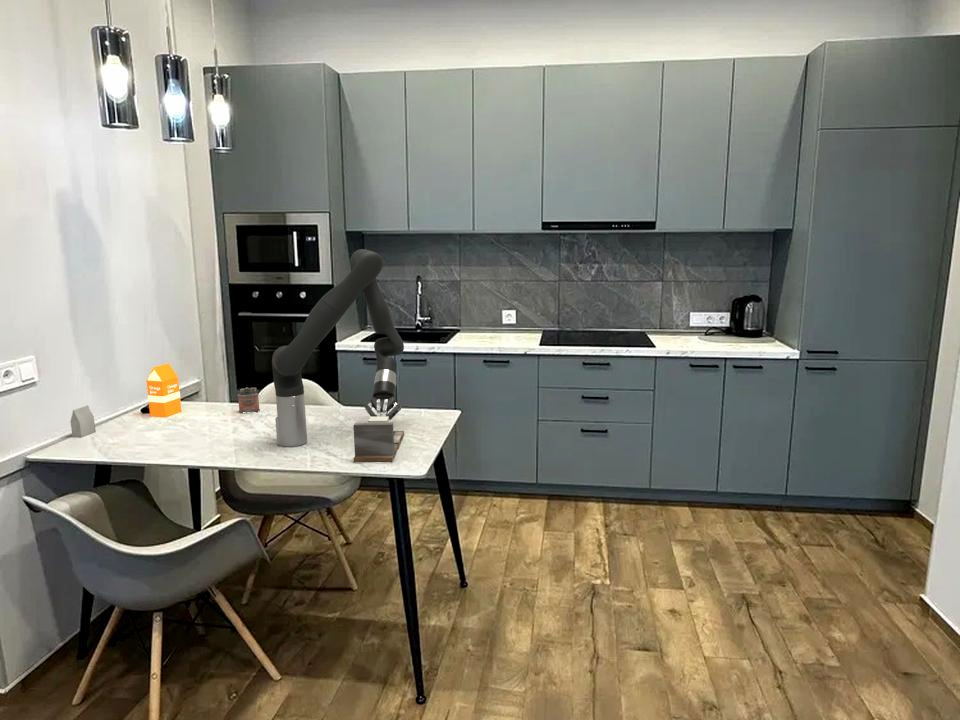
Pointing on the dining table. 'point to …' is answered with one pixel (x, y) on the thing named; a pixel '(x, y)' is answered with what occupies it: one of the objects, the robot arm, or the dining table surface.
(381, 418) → the block
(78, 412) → the grey house block
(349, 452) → the dining table surface
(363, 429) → the base
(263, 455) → the dining table surface
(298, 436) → the robot arm
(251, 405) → the red container
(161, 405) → the orange juice
